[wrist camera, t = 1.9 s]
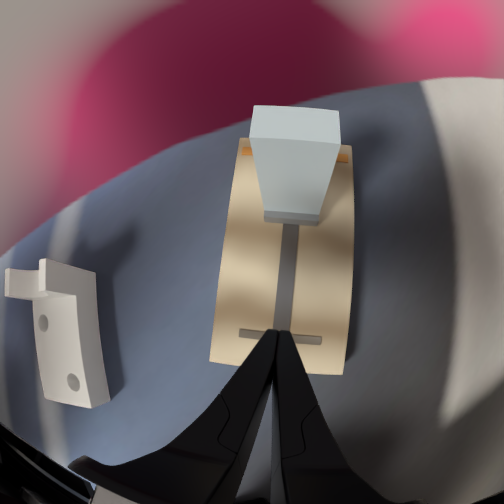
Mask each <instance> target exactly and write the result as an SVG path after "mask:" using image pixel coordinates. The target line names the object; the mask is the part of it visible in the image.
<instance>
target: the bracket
mask: <svg viewBox="0 0 504 504" xmlns="http://www.w3.org/2000/svg"><path fill="white" fill-rule="evenodd" d="M5 296H6V297H12V298H18V299H25V300H32V301H33V319H34V332H35V342H36V350H37V358H38V364H39V371H40V376H41V382H42V387H43V391H44V396H45V399H48V400H52V401H56V402H61V403H65V404H70V405H75V406H80V407H85V408H91V409H92V408H95V407H97V406H100V405H102V404H104V403H107V402H109V401H111V399H110V395H109V390H108V385H107V379H106V374H105V368H104V362H103V355H102V348H101V340H100V331H99V321H98V309H97V294H96V273H95V272H91V271H88V270H84V269H81V268H77V267H74V266H70V265H67V264H64V263H60V262H57V261H54V260H50V259H47V258H44V259H40V260H39V270H17V269H12V268H8V269H5Z"/></svg>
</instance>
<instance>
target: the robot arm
mask: <svg viewBox="0 0 504 504" xmlns="http://www.w3.org/2000/svg"><path fill="white" fill-rule="evenodd" d="M273 373H274V374H273ZM272 380H273V383H272ZM271 385H272V457H271V498H270V504H428V503H427V502H426V500H425V499H418V500H414V501H409V502H405V503H394V502H392V501H389V500H388V499H386V498H385V497H384V496H382V495H381V494H380V493H379V492H377V491H376V490H375V489H374V488H373V487H371V486H370V485H369V484H368V483H367V482H365V481H364V480H363V479H362V478H361V477H360V476H358V475H357V474H356V473H355V471H354V470H353V469H352V468H351V466H350V465H349V463H348V462H347V460H346V458H345V456H344V455H343V453H342V451H341V449H340V448H339V446H338V444H337V442H336V441H335V439H334V437H333V435H332V433H331V431H330V429H329V428H328V426H327V423H326V421H325V419H324V416H323V414H322V412H321V409H320V406H319V405H318V401H317V399H316V396H315V394H314V391H313V388H312V386H311V383H310V381H309V378H308V375H307V373H306V370H305V368H304V365H303V362H302V360H301V357H300V355H299V352H298V349H297V347H296V344H295V342H294V339H293V337H292V334H291V332H290V331H289V330H279V331H278V330H277V329H267V330H266V331H265V333H264V334H263V335H262V337H261V338H260V340H259V341H258V342H257V344H256V345H255V347H254V348H253V349H252V351H251V352H250V353H249V355H248V356H247V358H246V359H245V360H244V362H243V363H242V364H241V366H240V367H239V368H238V370H237V371H236V372H235V374H234V375H233V376H232V378H231V379H230V380H229V381H228V383H227V384H226V385H225V387H224V388H223V389H222V391H221V392H220V394H218V395H217V397H216V398H215V399H214V401H213V402H212V403H211V404H210V405H209V406H208V408H207V409H206V410H205V411H204V412H203V413H202V414H201V415H200V416H199V417H198V418H197V419H196V420H195V421H194V422H193V423H192V424H191V425H190V426H188V427H187V428H186V429H185V430H184V431H183V432H182V433H181V434H180V435H178V436H177V437H176V438H175V439H174V440H173V441H171V442H170V443H169V444H167V445H166V446H165V447H163V448H161V449H159V450H157V451H155V452H152V453H150V454H147V455H145V456H142V457H140V458H137V459H134V460H132V461H129V462H126V463H123V464H120V465H116V466H109V465H104V464H102V463H99V462H98V461H96V460H94V459H92V458H90V457H88V456H85V455H83V456H81V457H80V458H78V459H76V460H74V461H73V462H72V463H70V464H69V466H68V468H69V469H71V470H72V471H74V472H75V473H77V474H78V475H80V476H82V477H84V478H85V479H87V480H89V481H91V482H93V483H95V484H96V487H95V490H94V491H93V488H92V486H91V484H90V483H89V482H88V481H86V480H84V479H82V478H81V477H79V476H77V475H75V474H74V473H72V472H71V471H69V470H67V469H66V468H64V467H63V466H61V465H60V464H58V463H57V462H55V461H54V460H52V459H51V458H49V457H48V456H46V455H45V454H43V453H42V452H40V451H39V450H38V449H36V448H35V447H33V446H32V445H30V444H29V443H27V442H26V441H25V440H23V439H22V438H20V437H19V436H18V435H16V434H15V433H14V432H12V431H11V430H10V429H8V428H7V427H6V426H4V425H3V424H2V423H1V422H0V504H233V503H234V500H235V497H236V495H237V492H238V489H239V486H240V484H241V481H242V477H243V475H244V472H245V469H246V466H247V463H248V460H249V457H250V454H251V451H252V448H253V445H254V442H255V439H256V436H257V433H258V429H259V426H260V423H261V420H262V416H263V413H264V410H265V406H266V403H267V400H268V396H269V393H270V389H271ZM260 502H263V503H260ZM239 504H269V502H268V501H267V500H266V499H264V498H259V499H255V500H252V501H248V502H244V503H239ZM472 504H504V490H503V491H500V492H498V493H496V494H494V495H491V496H489V497H487V498H484V499H482V500H479V501H477V502H474V503H472Z"/></svg>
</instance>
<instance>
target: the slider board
mask: <svg viewBox="0 0 504 504" xmlns="http://www.w3.org/2000/svg"><path fill="white" fill-rule="evenodd" d="M353 256H354V184H353V162H352V147H351V146H349V145H340V149H339V152H338V156H337V159H336V162H335V166H334V169H333V172H332V176H331V179H330V182H329V185H328V188H327V192H326V195H325V198H324V201H323V204H322V207H321V210H320V213H319V222H318V225H317V226H307V225H295V224H283V223H270V222H265V221H264V207H263V202H262V197H261V192H260V187H259V182H258V177H257V172H256V168H255V163H254V158H253V153H252V148H251V144H250V139H249V138H240V141H239V147H238V153H237V159H236V166H235V172H234V178H233V184H232V191H231V197H230V204H229V211H228V218H227V224H226V231H225V238H224V246H223V253H222V260H221V268H220V275H219V283H218V291H217V299H216V307H215V316H214V324H213V333H212V342H211V351H210V361H211V362H217V363H223V364H229V365H236V366H241V364H242V363H243V362H244V360H245V359H246V358H247V356H248V355H249V353H250V352H251V351H252V349H253V348H254V347H255V345H256V344H257V342H258V341H259V340H260V338H261V337H262V335H263V334H264V333H265V331H266V330H267V329H277V330H278V331H279V330H289V331H290V332H291V334H292V337H293V339H294V342H295V344H296V347H297V349H298V352H299V355H300V357H301V360H302V362H303V365H304V368H305V370H306V373H313V374H332V375H342V374H343V368H344V361H345V353H346V345H347V337H348V328H349V318H350V307H351V294H352V278H353Z"/></svg>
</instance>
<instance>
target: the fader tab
mask: <svg viewBox="0 0 504 504" xmlns="http://www.w3.org/2000/svg"><path fill="white" fill-rule="evenodd" d="M249 139H250V144H251V148H252V153H253V158H254V163H255V168H256V172H257V177H258V182H259V187H260V192H261V197H262V202H263V207H264V221H265V222H270V223H283V224H295V225H307V226H317V225H318V222H319V213H320V210H321V207H322V204H323V201H324V198H325V195H326V192H327V188H328V185H329V182H330V179H331V176H332V172H333V169H334V166H335V162H336V159H337V156H338V152H339V149H340V145H341V138H340V123H339V111H334V110H325V109H315V108H302V107H286V106H254V110H253V116H252V122H251V129H250V136H249Z"/></svg>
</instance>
